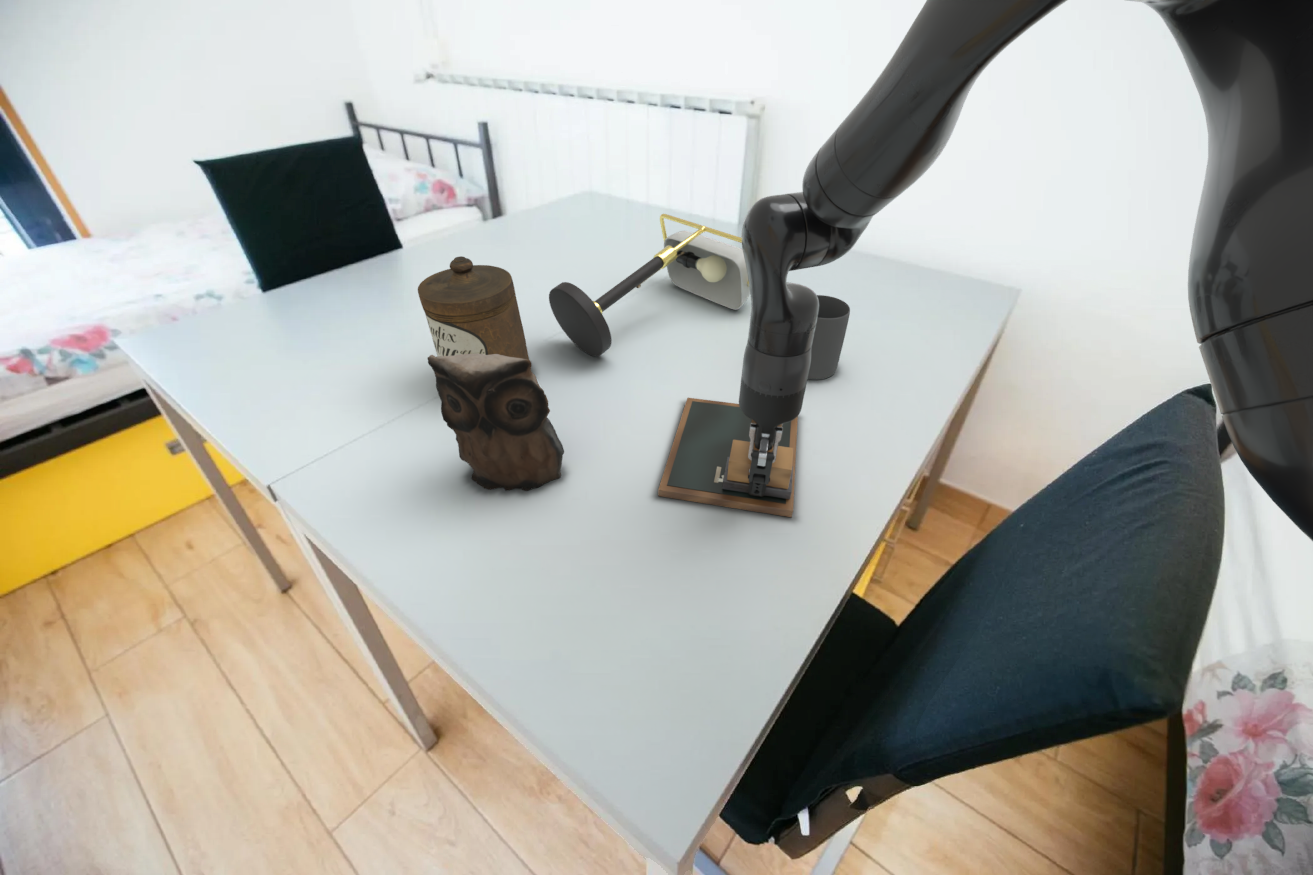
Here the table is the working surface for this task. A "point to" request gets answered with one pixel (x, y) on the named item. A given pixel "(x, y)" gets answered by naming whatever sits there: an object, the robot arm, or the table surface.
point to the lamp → (688, 264)
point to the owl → (498, 419)
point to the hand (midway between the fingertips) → (758, 479)
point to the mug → (828, 337)
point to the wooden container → (473, 311)
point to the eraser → (741, 464)
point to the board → (717, 458)
